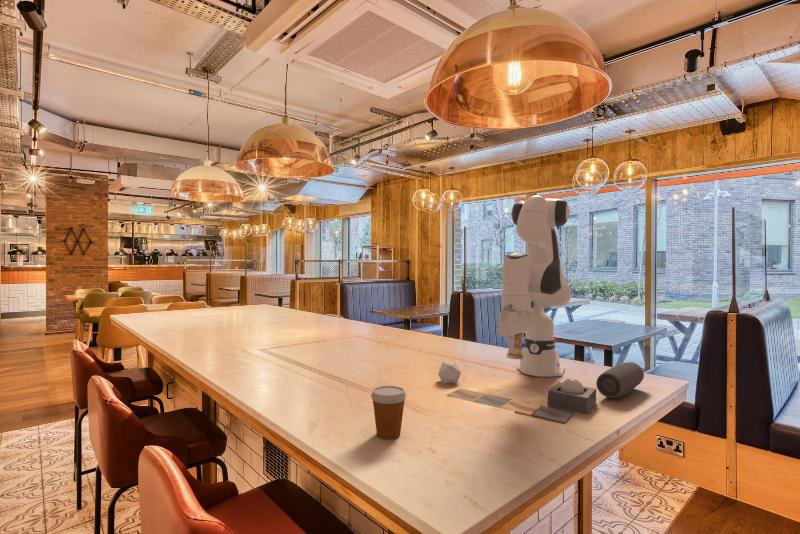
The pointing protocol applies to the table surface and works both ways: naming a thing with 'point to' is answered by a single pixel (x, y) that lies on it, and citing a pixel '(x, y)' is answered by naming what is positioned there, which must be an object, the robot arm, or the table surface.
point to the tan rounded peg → (516, 348)
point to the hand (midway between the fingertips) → (515, 347)
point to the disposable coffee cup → (388, 410)
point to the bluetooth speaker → (620, 379)
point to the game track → (515, 405)
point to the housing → (572, 399)
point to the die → (449, 373)
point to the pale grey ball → (572, 386)
